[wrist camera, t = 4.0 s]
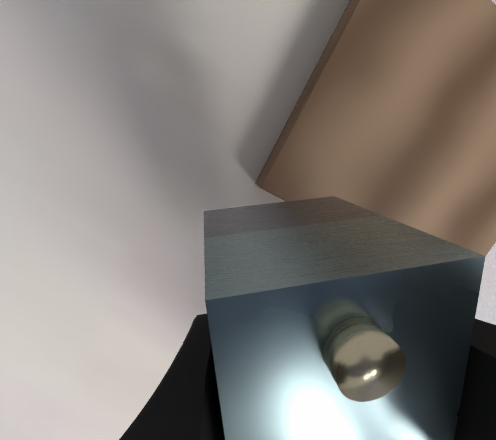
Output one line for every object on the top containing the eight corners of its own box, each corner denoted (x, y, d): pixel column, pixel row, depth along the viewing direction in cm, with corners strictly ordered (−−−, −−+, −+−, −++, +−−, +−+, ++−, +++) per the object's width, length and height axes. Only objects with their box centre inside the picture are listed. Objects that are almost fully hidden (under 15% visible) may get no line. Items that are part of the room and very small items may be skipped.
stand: (557, 103, 19) (598, 99, 17) (437, 276, 21) (460, 290, 19) (377, -52, 15) (402, -81, 13) (255, 183, 17) (261, 188, 15)
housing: (333, 196, 11) (522, 271, 4) (332, 363, 13) (457, 574, 7) (203, 211, 10) (205, 324, 4) (226, 385, 12) (252, 639, 6)
